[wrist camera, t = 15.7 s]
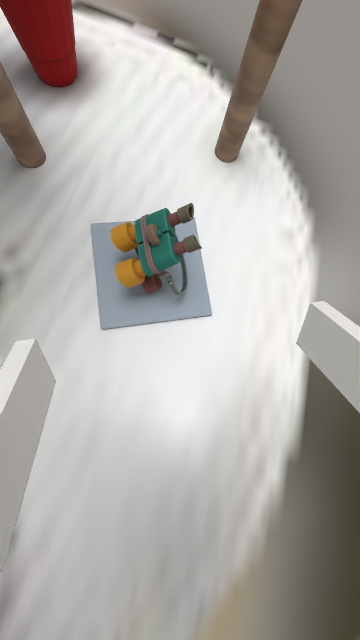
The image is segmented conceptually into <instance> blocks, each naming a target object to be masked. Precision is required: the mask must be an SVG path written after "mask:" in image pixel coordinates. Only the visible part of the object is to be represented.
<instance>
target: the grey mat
mask: <svg viewBox="0 0 360 640" xmlns="http://www.w3.org/2000/svg"><path fill="white" fill-rule="evenodd" d="M129 222H130V223H131V224H132V225H135V221H129ZM123 223H126V222H113V223H98V224H91V232H92V243H93V253H94V263H95V273H96V284H97V294H98V304H99V315H100V325H101V329H110V328H117V327H125V326H133V325H141V324H148V323H156V322H164V321H172V320H179V319H187V318H195V317H203V316H210V315H212V311H211V306H210V300H209V294H208V289H207V283H206V278H205V272H204V267H203V261H202V256H201V250H200V249H198V250H196V251H193V252H191V253H188V252H186V253H183V254H184V258H185V263H186V268H187V277H188V285H187V289H186V291H185V292H184V293H182V294H179V295H175V294H174V293H173V292H172V290H171V288H170V286H168V283H167V282H165V280H164V281H162V288H161V289H160V290H158V291H156V292H153V293H151V294H147V293H146V292H145V291H144V290H143V288H142V286H141V284H138V285H136V286H134V287H131V288H128V287H125V286H124V285H122V284H121V283H120V282H119V280H118V279H117V276H116V273H115V267H116V265H117V264H118V263H120V262H123V261H126V260H129V259H132V258H137V259H138V260H139V257H138V256H137V253H136V251H135V249H132V250H131V251H129V252H122V251H120V250H119V249H118V248H116V246H115V245H114V244H113V242H112V240H111V237H110V231H111V229H112V228H113V227H116V226H118V225H121V224H123ZM175 233H176V235H177V237H178V239H179V242H181V241H183V239H184V238H186V237H188V236H191V235H195V237H196V239H197V241H198V243H199V239H198V233H197V228H196V222H195V217H193V220H191V221H189V222H187V223H185V224H183V223H180V224H178V225H176V226H175ZM163 271H166V272H168V273H170V274H171V275H172V276H173V277H172V279H173V281H174V283H175V286H176V287H177V289H178V290H179V291H181V289H182V286H183V276H182V268H181V263H178V264H176V265H174V266H172V267H169V268H167V269H165V270H163ZM167 276H170V275H169V274H166V275H164V276H162V277H161V278H162V279H164V277H167Z"/></svg>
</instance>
